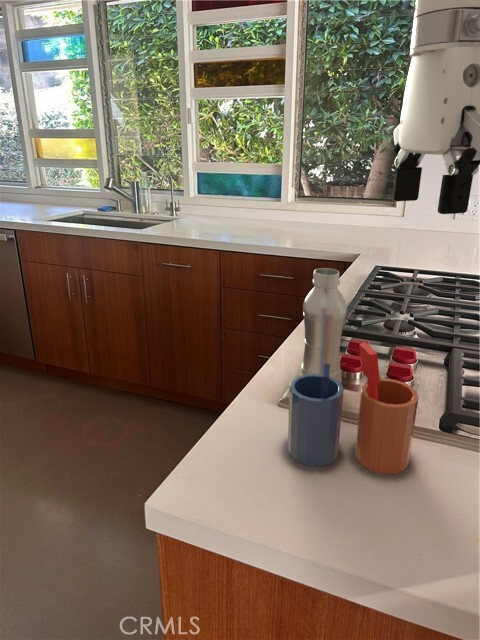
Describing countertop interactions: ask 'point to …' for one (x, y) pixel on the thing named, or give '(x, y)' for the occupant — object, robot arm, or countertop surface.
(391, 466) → the terracotta cup
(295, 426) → the blue cup
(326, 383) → the navy spoon
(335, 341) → the silver bottle
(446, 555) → the countertop surface
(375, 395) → the red spatula
